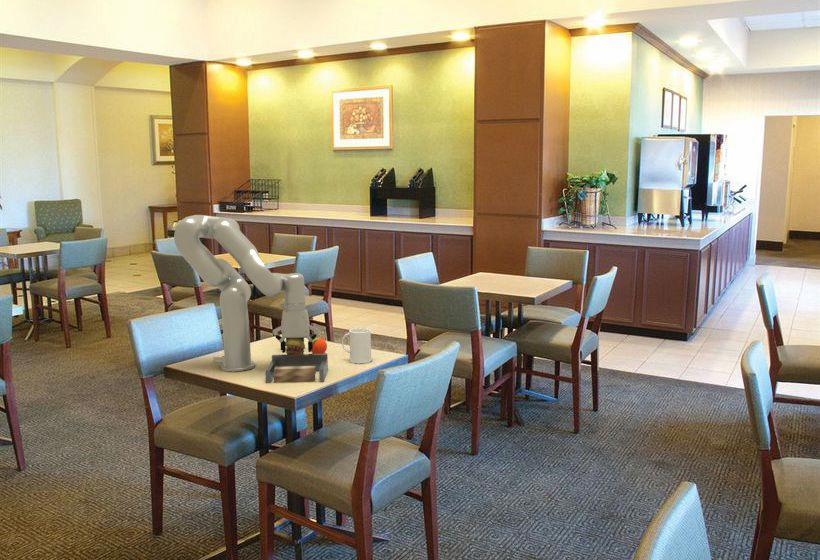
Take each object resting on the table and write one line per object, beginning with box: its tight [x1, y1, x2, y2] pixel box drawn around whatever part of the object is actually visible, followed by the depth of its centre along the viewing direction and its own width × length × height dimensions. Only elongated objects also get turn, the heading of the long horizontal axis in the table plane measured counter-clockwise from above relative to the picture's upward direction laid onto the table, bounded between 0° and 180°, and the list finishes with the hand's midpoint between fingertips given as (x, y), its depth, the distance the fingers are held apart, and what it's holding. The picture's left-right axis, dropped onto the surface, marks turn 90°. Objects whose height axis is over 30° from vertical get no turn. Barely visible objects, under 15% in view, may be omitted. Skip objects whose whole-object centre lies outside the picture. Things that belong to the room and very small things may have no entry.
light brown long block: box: [273, 366, 317, 383], centre depth 241 cm, size 14×3×5 cm, turn 92°
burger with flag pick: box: [285, 338, 306, 355], centre depth 260 cm, size 8×7×12 cm
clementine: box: [310, 337, 328, 354], centre depth 274 cm, size 8×7×7 cm
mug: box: [341, 327, 373, 365], centre depth 265 cm, size 12×8×12 cm
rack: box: [264, 353, 329, 384], centre depth 247 cm, size 20×15×6 cm
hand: (296, 351), depth 260 cm, fingers open, 9 cm apart
